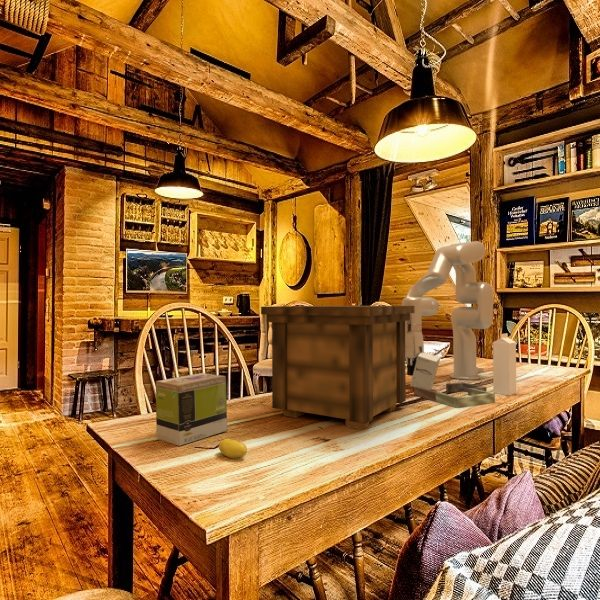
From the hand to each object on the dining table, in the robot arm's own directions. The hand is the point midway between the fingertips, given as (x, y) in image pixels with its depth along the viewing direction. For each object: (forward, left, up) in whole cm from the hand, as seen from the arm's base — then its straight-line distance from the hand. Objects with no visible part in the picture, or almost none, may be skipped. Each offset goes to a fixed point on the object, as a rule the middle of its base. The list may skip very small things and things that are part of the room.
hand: (411, 375), depth 165 cm
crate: (+43, +19, -5) cm, 48 cm away
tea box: (+89, +22, -5) cm, 92 cm away
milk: (-25, +23, -5) cm, 34 cm away
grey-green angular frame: (-4, +21, -5) cm, 22 cm away
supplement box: (-1, +5, -4) cm, 6 cm away
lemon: (+84, +41, -5) cm, 94 cm away
